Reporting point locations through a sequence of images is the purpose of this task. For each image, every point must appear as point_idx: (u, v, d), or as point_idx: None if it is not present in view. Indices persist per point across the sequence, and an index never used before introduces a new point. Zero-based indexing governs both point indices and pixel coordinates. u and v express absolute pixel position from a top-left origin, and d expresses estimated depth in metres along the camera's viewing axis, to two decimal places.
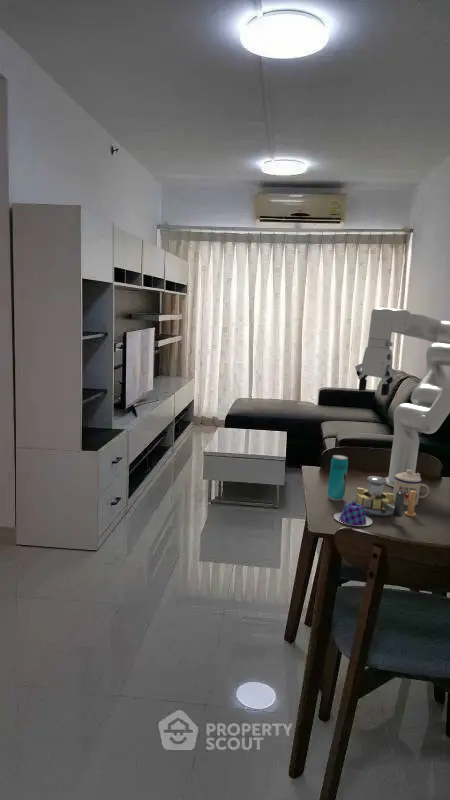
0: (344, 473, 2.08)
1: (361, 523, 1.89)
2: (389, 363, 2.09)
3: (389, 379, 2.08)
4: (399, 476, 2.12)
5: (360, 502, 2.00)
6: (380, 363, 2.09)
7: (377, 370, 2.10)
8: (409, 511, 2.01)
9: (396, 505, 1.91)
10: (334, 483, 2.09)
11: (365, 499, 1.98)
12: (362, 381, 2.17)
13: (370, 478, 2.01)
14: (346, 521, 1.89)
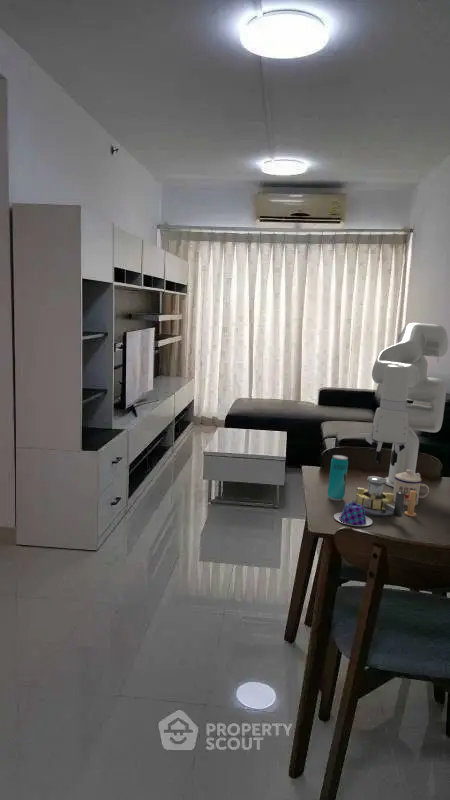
0: (344, 473, 2.08)
1: (361, 523, 1.89)
2: None
3: (401, 447, 1.86)
4: (399, 476, 2.12)
5: (360, 502, 2.00)
6: (402, 428, 1.84)
7: (398, 436, 1.84)
8: (409, 511, 2.01)
9: (396, 505, 1.91)
10: (334, 483, 2.09)
11: (365, 499, 1.98)
12: None
13: (370, 478, 2.01)
14: (346, 521, 1.89)
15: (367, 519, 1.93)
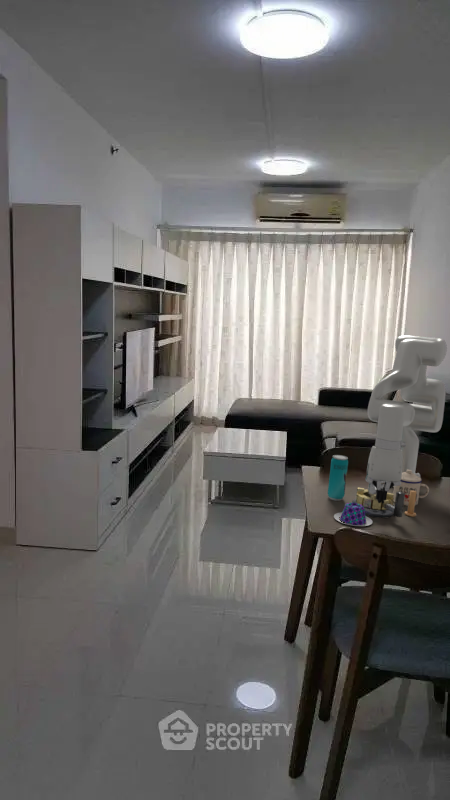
0: (344, 473, 2.08)
1: (361, 523, 1.89)
2: None
3: (391, 485, 1.88)
4: None
5: (360, 502, 2.00)
6: (397, 467, 1.85)
7: (393, 475, 1.86)
8: (409, 511, 2.01)
9: (396, 505, 1.91)
10: (334, 483, 2.09)
11: (365, 499, 1.98)
12: (381, 492, 1.88)
13: None
14: (346, 521, 1.89)
15: (367, 519, 1.93)
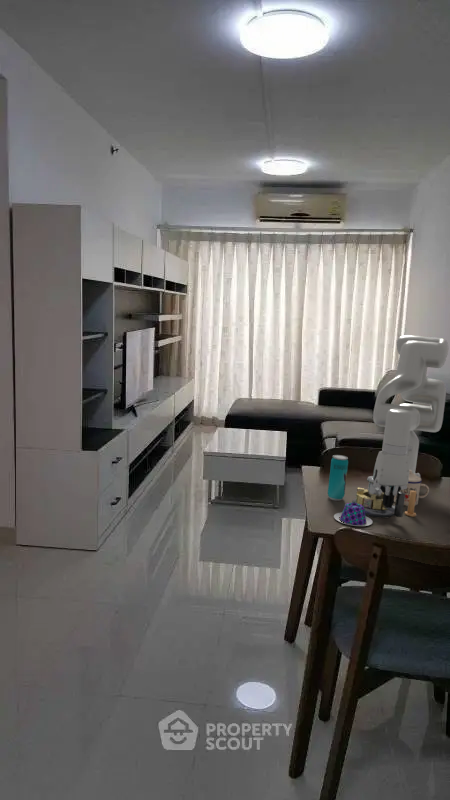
0: (344, 473, 2.08)
1: (361, 523, 1.89)
2: None
3: (398, 489, 1.89)
4: None
5: (360, 502, 2.00)
6: (405, 471, 1.87)
7: (401, 479, 1.87)
8: (409, 511, 2.01)
9: (397, 505, 1.91)
10: (334, 483, 2.09)
11: (365, 499, 1.98)
12: None
13: (370, 478, 2.01)
14: (346, 521, 1.89)
15: (367, 519, 1.93)
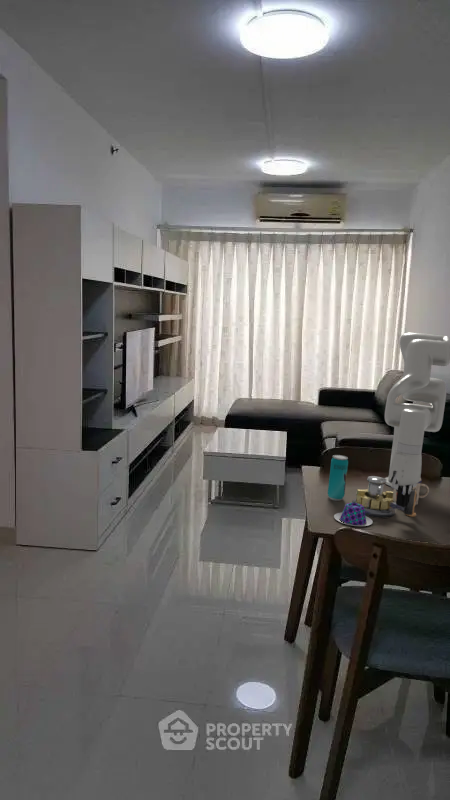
0: (344, 473, 2.08)
1: (361, 523, 1.88)
2: None
3: None
4: None
5: (366, 504, 1.98)
6: (419, 469, 1.90)
7: (416, 477, 1.90)
8: None
9: (408, 503, 1.93)
10: (334, 483, 2.09)
11: (373, 501, 1.97)
12: None
13: (370, 478, 2.01)
14: (346, 521, 1.89)
15: (367, 519, 1.93)
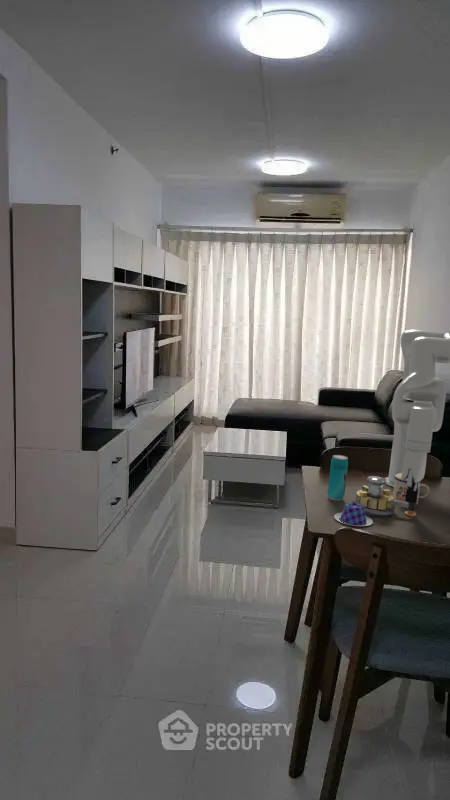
0: (344, 473, 2.08)
1: (361, 523, 1.89)
2: None
3: None
4: (399, 476, 2.12)
5: (374, 506, 1.97)
6: (425, 464, 1.95)
7: (423, 473, 1.94)
8: (409, 511, 2.01)
9: None
10: (334, 483, 2.09)
11: (380, 502, 1.96)
12: None
13: (370, 478, 2.01)
14: (346, 521, 1.89)
15: (367, 519, 1.93)
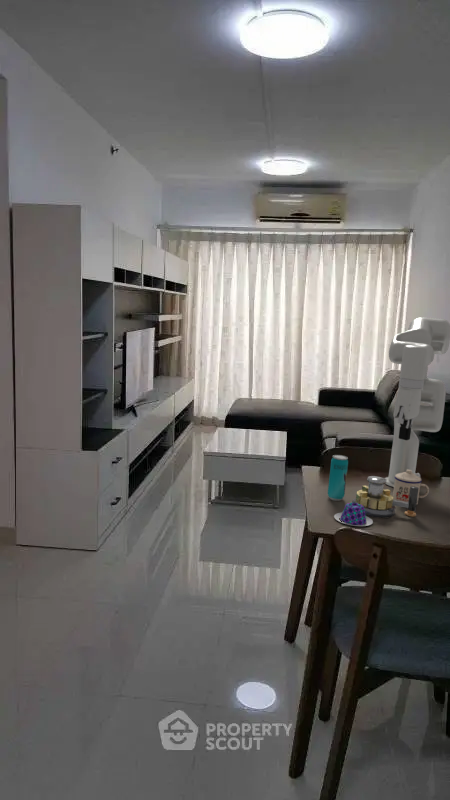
0: (344, 473, 2.08)
1: (361, 523, 1.88)
2: None
3: None
4: (399, 476, 2.12)
5: (374, 506, 1.97)
6: (419, 403, 1.98)
7: (417, 411, 1.98)
8: (409, 511, 2.01)
9: (413, 500, 1.97)
10: (334, 483, 2.09)
11: (380, 502, 1.96)
12: None
13: (370, 478, 2.01)
14: (346, 521, 1.89)
15: (368, 519, 1.93)
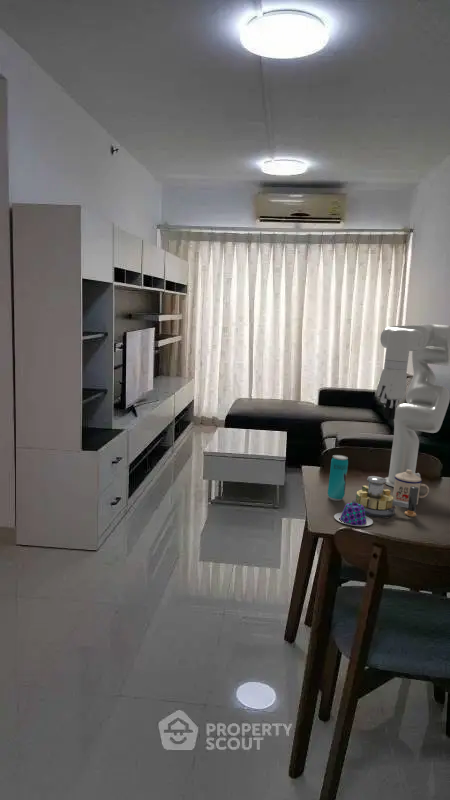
0: (344, 473, 2.08)
1: (360, 523, 1.88)
2: None
3: None
4: (399, 476, 2.12)
5: (374, 506, 1.97)
6: (404, 384, 2.08)
7: (402, 392, 2.08)
8: (409, 511, 2.01)
9: (413, 500, 1.97)
10: (334, 483, 2.09)
11: (380, 502, 1.96)
12: None
13: (370, 478, 2.01)
14: (345, 521, 1.89)
15: (368, 520, 1.93)
